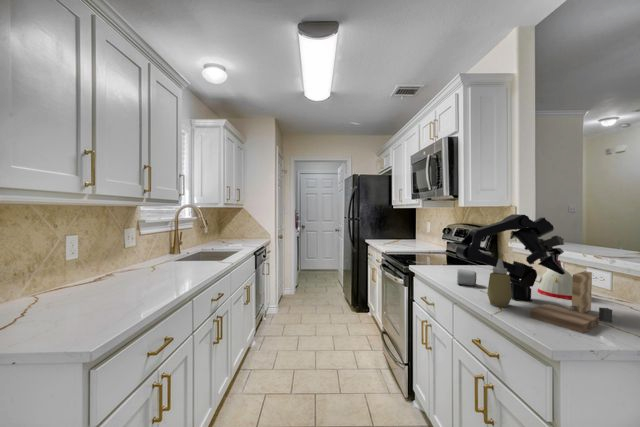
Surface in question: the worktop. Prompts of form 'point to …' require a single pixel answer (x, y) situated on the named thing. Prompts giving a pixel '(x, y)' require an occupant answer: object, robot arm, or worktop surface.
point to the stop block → (605, 314)
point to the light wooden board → (581, 292)
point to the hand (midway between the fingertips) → (563, 274)
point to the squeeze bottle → (499, 286)
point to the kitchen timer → (556, 284)
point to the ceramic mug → (466, 277)
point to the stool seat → (565, 318)
